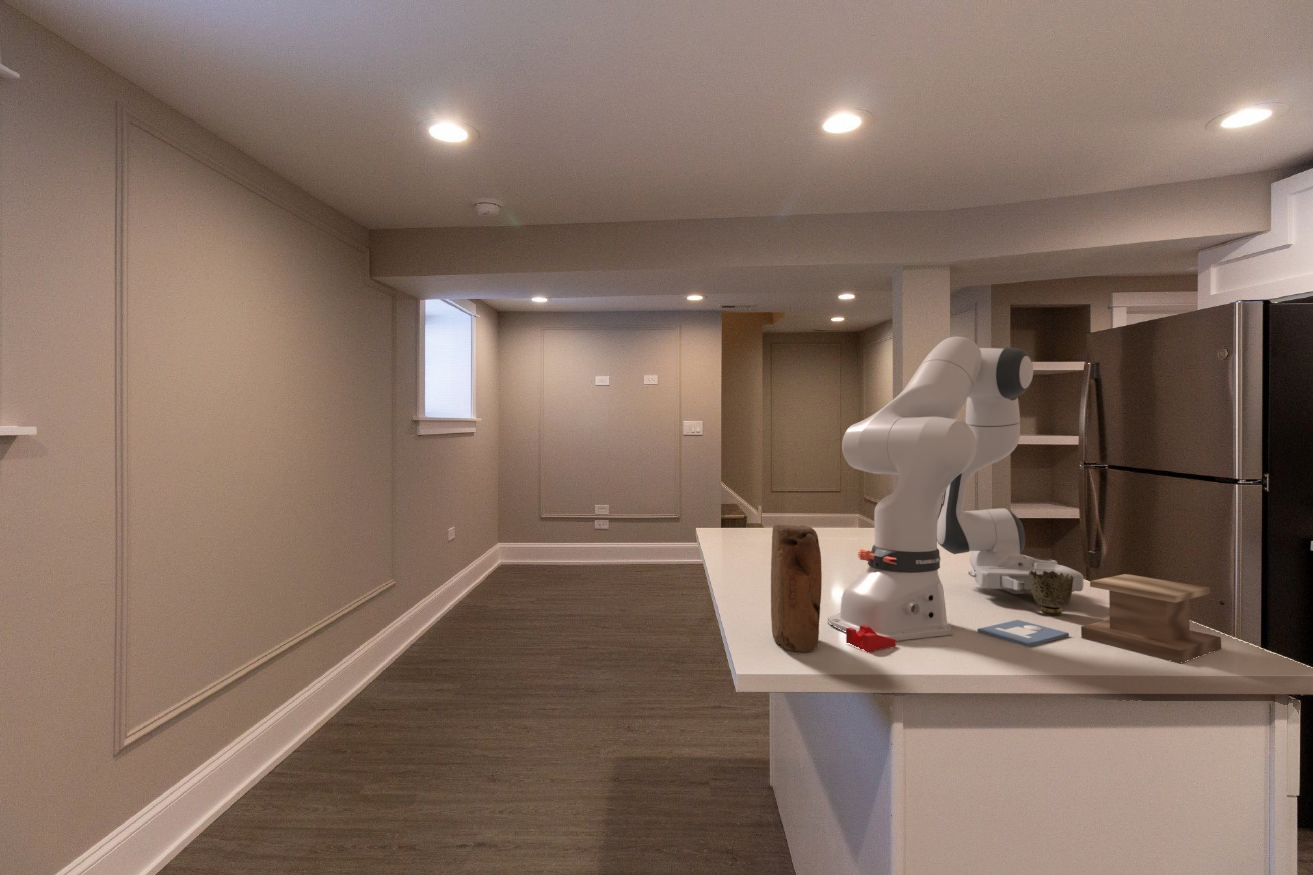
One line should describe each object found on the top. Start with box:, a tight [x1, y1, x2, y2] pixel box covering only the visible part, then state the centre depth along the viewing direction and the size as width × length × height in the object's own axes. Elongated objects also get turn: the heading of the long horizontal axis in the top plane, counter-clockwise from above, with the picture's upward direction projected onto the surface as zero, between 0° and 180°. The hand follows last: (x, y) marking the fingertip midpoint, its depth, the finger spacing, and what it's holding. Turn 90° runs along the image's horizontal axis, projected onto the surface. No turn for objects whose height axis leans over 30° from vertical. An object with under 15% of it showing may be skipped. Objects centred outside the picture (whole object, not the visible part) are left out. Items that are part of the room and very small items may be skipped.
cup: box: [1029, 570, 1074, 617], centre depth 119 cm, size 8×7×8 cm
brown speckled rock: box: [770, 524, 823, 653], centre depth 102 cm, size 11×8×20 cm
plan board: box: [977, 619, 1070, 648], centre depth 106 cm, size 12×9×1 cm
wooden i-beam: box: [1080, 573, 1222, 664], centre depth 101 cm, size 14×14×10 cm
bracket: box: [845, 625, 897, 653], centre depth 101 cm, size 6×5×3 cm
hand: (1045, 587), depth 121 cm, fingers open, 8 cm apart
